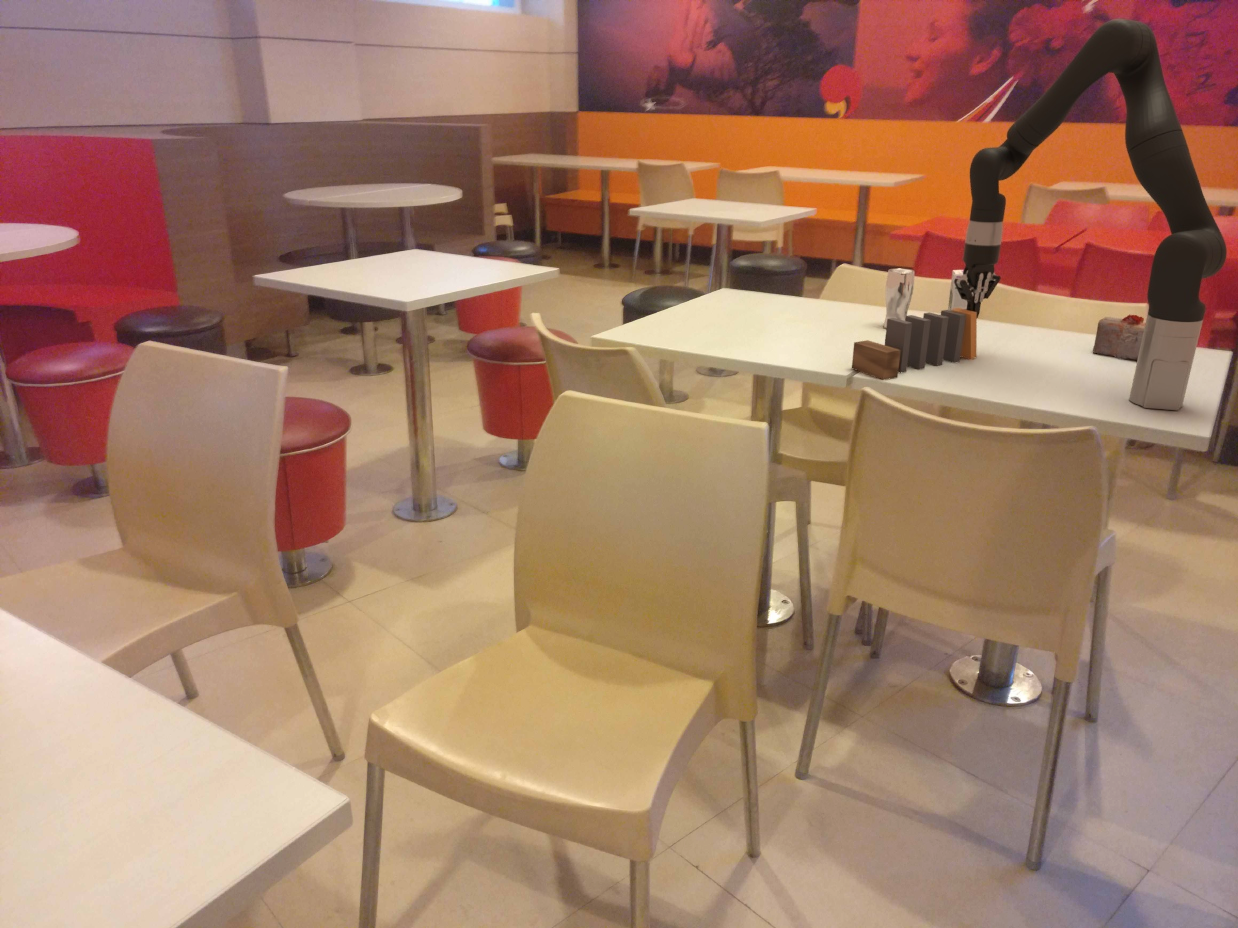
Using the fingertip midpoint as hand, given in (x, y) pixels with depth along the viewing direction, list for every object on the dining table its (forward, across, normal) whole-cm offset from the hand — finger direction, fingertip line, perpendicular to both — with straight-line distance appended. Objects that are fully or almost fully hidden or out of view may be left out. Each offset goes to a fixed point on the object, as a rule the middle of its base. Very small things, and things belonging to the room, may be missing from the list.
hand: (972, 317), depth 207 cm
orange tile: (+9, -1, 0) cm, 9 cm away
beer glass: (+9, +6, +29) cm, 31 cm away
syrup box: (+9, +21, +22) cm, 32 cm away
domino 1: (+9, -23, 0) cm, 25 cm away
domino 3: (+9, -12, 0) cm, 15 cm away
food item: (+9, +32, -18) cm, 38 cm away
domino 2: (+9, -17, 0) cm, 20 cm away
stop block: (+9, -29, 0) cm, 30 cm away
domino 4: (+9, -6, 0) cm, 11 cm away
